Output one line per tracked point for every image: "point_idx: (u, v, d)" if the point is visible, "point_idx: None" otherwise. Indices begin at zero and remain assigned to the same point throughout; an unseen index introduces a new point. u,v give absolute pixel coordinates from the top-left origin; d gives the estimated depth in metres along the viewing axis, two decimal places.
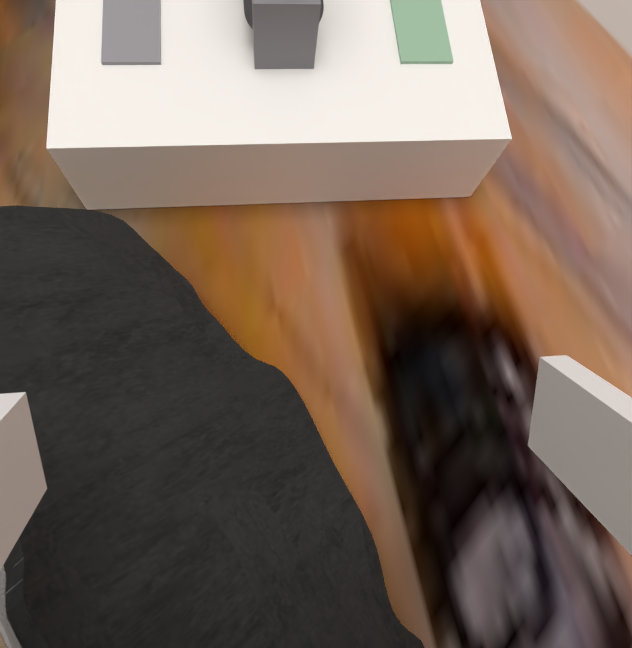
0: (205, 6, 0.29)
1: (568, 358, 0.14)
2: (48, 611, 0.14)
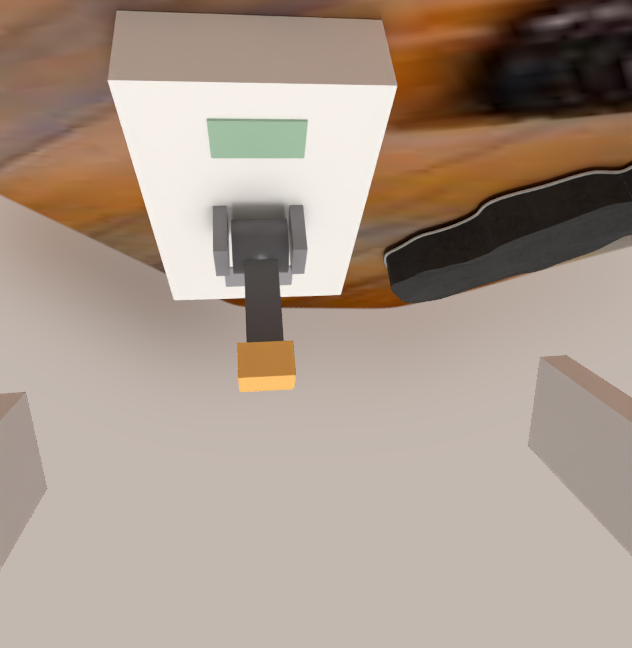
0: None
1: (568, 358, 0.14)
2: (539, 269, 0.59)
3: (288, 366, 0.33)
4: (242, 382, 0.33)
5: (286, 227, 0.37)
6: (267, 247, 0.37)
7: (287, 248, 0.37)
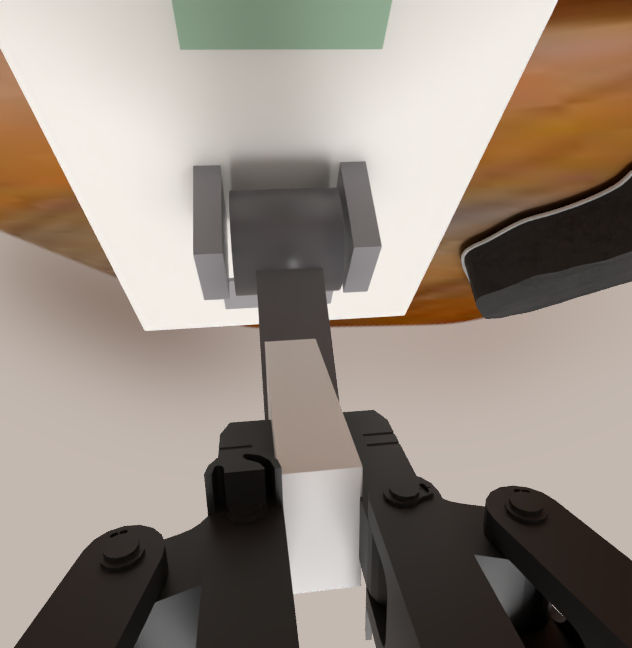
0: None
1: (313, 341, 0.15)
2: None
3: None
4: None
5: (338, 204, 0.19)
6: (302, 245, 0.18)
7: (341, 246, 0.18)
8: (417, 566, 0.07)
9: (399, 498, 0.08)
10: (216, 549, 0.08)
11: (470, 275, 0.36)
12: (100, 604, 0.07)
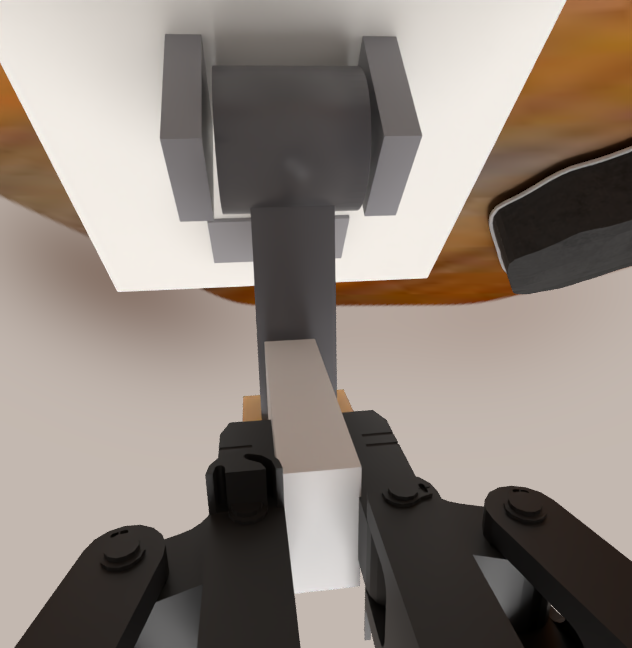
0: None
1: (312, 341, 0.15)
2: None
3: None
4: None
5: (367, 128, 0.13)
6: (312, 185, 0.14)
7: (362, 187, 0.14)
8: (416, 566, 0.07)
9: (398, 498, 0.08)
10: (217, 549, 0.08)
11: (501, 237, 0.31)
12: (101, 604, 0.07)
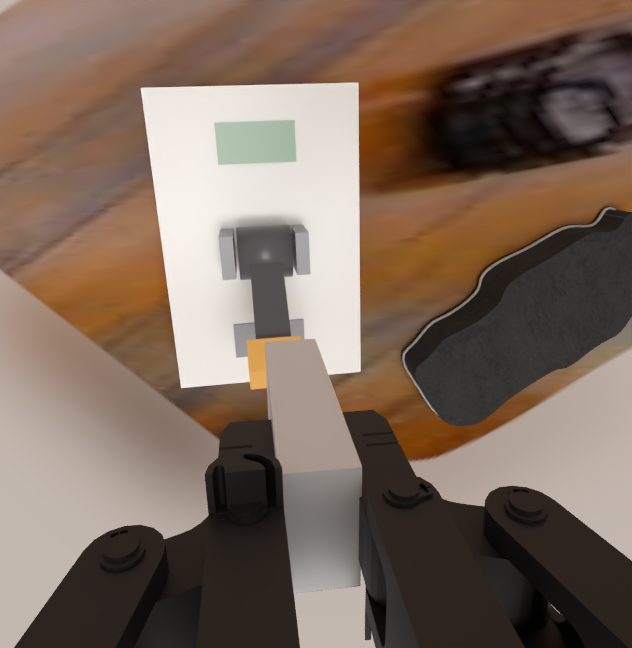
0: None
1: (313, 341, 0.15)
2: (571, 361, 0.55)
3: None
4: (253, 377, 0.34)
5: (289, 231, 0.39)
6: (272, 251, 0.38)
7: (291, 251, 0.38)
8: (417, 566, 0.07)
9: (399, 498, 0.08)
10: (217, 549, 0.08)
11: (409, 365, 0.52)
12: (100, 604, 0.07)
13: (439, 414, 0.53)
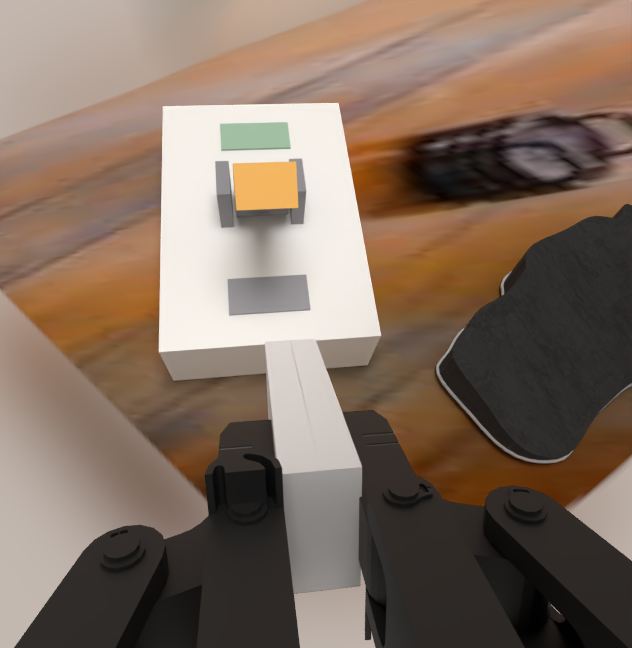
0: (252, 252, 0.41)
1: (313, 341, 0.15)
2: None
3: None
4: (238, 178, 0.30)
5: None
6: None
7: None
8: (417, 566, 0.07)
9: (399, 498, 0.08)
10: (217, 549, 0.08)
11: (445, 365, 0.42)
12: (100, 604, 0.07)
13: (504, 427, 0.39)
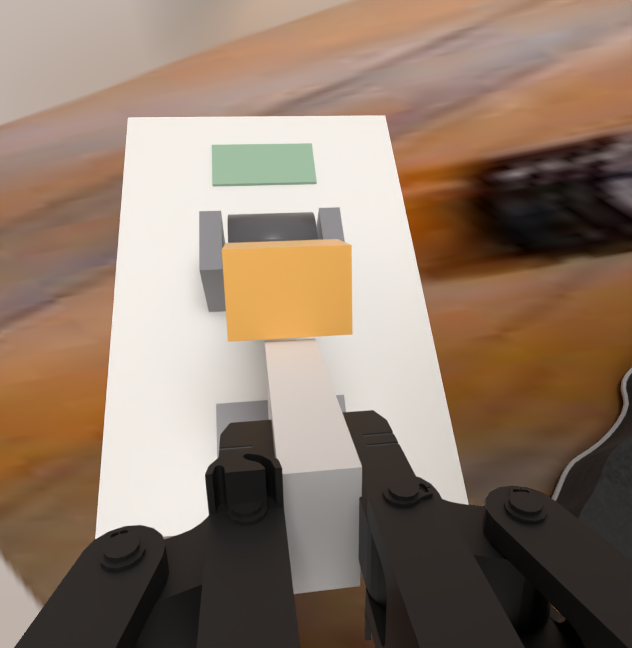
0: (256, 354, 0.25)
1: (313, 341, 0.15)
2: None
3: (333, 243, 0.15)
4: (233, 279, 0.14)
5: (309, 212, 0.25)
6: (282, 223, 0.24)
7: (313, 223, 0.24)
8: (416, 566, 0.07)
9: (398, 498, 0.08)
10: (217, 549, 0.08)
11: None
12: (100, 604, 0.07)
13: None
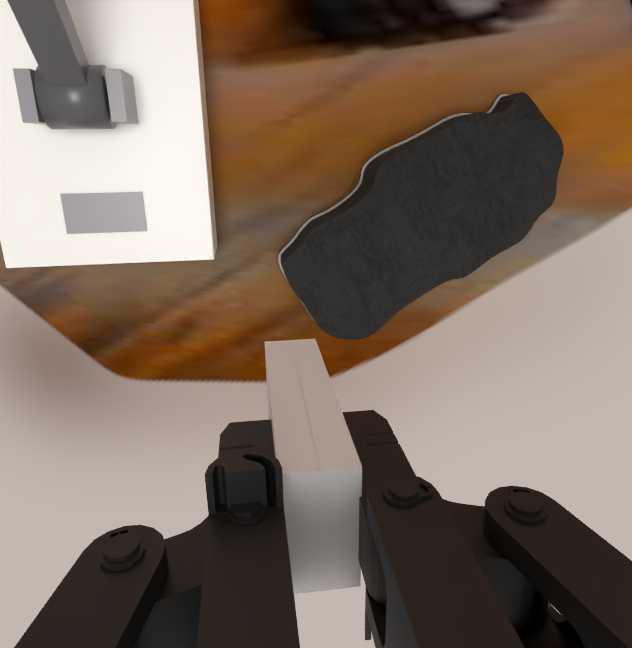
0: (83, 159, 0.39)
1: (313, 341, 0.15)
2: (467, 270, 0.50)
3: None
4: None
5: None
6: None
7: (102, 65, 0.35)
8: (417, 566, 0.07)
9: (399, 498, 0.08)
10: (217, 549, 0.08)
11: (281, 264, 0.47)
12: (100, 604, 0.07)
13: (317, 322, 0.48)
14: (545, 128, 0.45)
